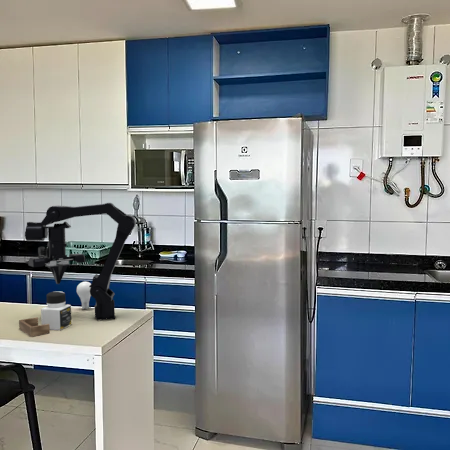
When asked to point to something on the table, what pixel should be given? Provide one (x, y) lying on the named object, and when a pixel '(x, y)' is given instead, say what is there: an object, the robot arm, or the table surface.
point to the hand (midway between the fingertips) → (58, 283)
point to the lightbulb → (84, 293)
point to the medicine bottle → (56, 311)
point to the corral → (33, 327)
